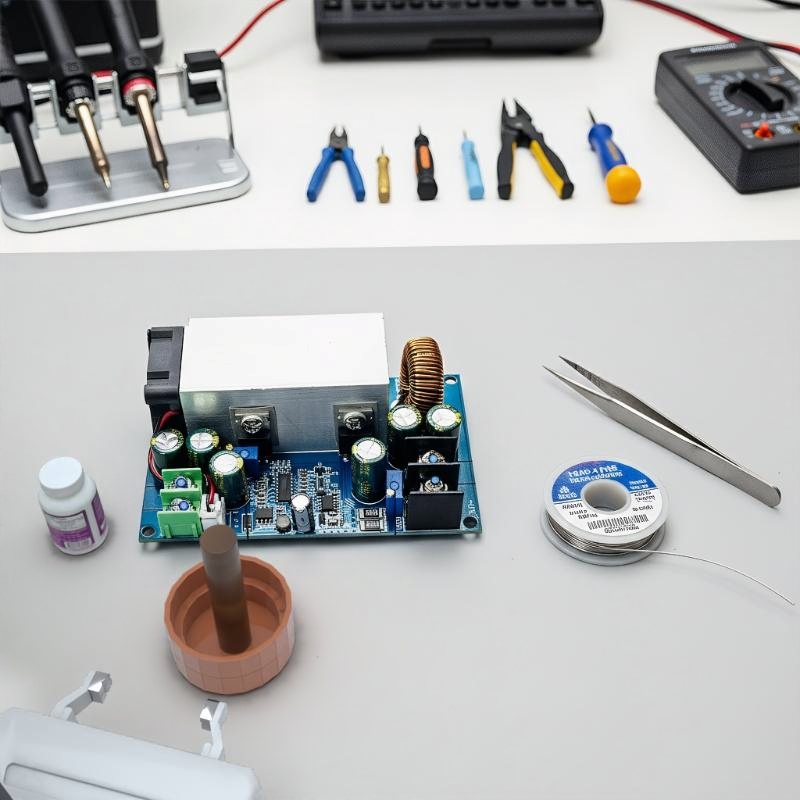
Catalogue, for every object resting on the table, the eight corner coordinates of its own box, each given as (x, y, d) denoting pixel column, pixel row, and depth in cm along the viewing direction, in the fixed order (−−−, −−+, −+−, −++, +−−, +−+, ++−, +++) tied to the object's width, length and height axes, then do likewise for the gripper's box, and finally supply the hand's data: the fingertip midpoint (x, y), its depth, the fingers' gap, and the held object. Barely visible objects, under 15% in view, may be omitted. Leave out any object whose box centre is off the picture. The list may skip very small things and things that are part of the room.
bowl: (194, 716, 86) (185, 680, 81) (159, 617, 93) (149, 579, 88) (312, 669, 89) (310, 632, 85) (270, 577, 96) (266, 539, 92)
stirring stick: (211, 644, 90) (191, 543, 79) (231, 620, 92) (214, 518, 81) (238, 659, 89) (221, 559, 78) (258, 635, 91) (244, 533, 80)
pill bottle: (77, 507, 102) (57, 443, 95) (119, 526, 100) (102, 462, 93) (41, 544, 98) (18, 481, 91) (85, 564, 97) (64, 501, 90)
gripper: (218, 898, 62) (288, 701, 71) (-77, 816, 65) (28, 637, 74) (227, 931, 66) (292, 741, 76) (-49, 853, 69) (47, 680, 79)
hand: (160, 689), depth 75 cm, fingers open, 8 cm apart
